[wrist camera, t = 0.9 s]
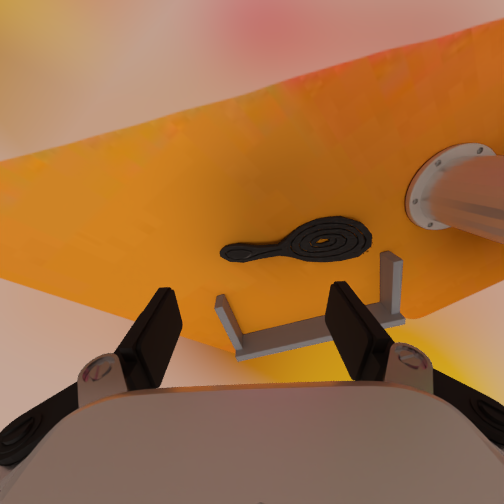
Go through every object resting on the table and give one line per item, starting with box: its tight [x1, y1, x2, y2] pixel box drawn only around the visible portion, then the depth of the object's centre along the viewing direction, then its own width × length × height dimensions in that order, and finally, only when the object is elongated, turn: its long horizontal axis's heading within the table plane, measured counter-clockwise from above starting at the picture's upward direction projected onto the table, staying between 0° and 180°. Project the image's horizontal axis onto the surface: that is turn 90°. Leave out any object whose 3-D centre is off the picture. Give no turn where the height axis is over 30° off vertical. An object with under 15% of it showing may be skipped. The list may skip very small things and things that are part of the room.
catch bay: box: [214, 251, 405, 361], centre depth 37 cm, size 33×14×5 cm, turn 107°
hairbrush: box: [220, 216, 373, 263], centre depth 32 cm, size 8×4×25 cm
